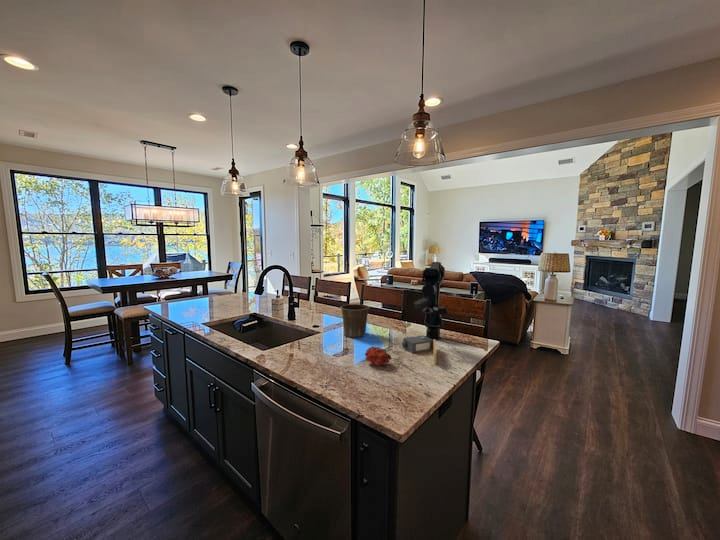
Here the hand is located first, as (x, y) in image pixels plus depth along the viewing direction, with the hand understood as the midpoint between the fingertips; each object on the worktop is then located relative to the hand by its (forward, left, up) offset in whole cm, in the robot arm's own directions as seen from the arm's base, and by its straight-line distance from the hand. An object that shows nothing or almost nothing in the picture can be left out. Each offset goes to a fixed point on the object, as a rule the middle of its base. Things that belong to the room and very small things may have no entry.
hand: (429, 324), depth 147 cm
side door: (+5, +11, -12) cm, 17 cm away
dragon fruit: (+33, +8, -12) cm, 36 cm away
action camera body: (+6, -1, -12) cm, 13 cm away
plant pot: (+26, -34, -12) cm, 44 cm away
